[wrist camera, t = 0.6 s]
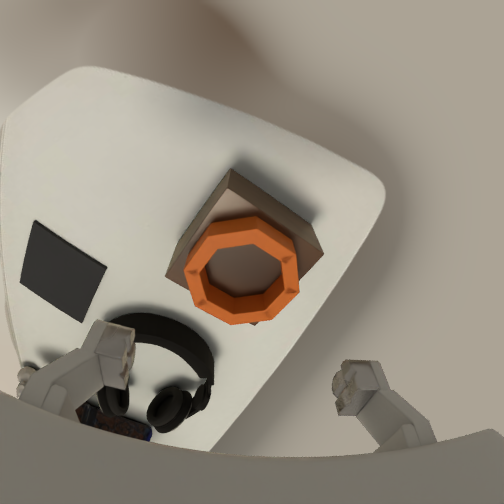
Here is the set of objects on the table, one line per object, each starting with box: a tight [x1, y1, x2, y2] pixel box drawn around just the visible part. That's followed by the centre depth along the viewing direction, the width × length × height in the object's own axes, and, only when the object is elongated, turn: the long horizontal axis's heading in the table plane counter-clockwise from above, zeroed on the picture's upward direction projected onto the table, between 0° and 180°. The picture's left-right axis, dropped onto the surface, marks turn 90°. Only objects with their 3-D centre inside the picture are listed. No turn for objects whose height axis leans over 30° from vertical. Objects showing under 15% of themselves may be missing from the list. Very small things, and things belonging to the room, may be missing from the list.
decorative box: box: [75, 402, 152, 442], centre depth 47 cm, size 31×20×20 cm
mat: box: [20, 221, 107, 323], centre depth 34 cm, size 11×11×1 cm
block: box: [165, 168, 324, 326], centre depth 30 cm, size 10×10×6 cm
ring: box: [184, 216, 299, 325], centre depth 26 cm, size 9×9×2 cm
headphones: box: [96, 313, 214, 433], centre depth 39 cm, size 18×8×20 cm
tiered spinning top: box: [17, 366, 36, 397], centre depth 41 cm, size 5×7×8 cm
